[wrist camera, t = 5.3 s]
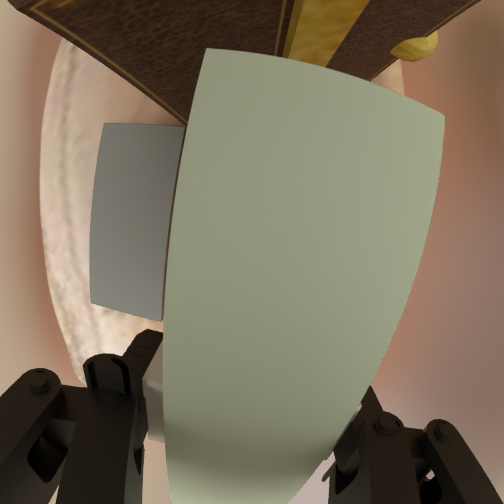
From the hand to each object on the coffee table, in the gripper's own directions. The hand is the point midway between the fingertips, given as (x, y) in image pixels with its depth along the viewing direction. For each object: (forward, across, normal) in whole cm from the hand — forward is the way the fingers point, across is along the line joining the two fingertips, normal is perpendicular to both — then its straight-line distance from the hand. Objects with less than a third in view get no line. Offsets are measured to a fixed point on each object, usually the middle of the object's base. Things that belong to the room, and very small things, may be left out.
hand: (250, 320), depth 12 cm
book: (+18, 0, +18) cm, 25 cm away
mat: (+17, -14, 0) cm, 22 cm away
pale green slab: (+8, 0, 0) cm, 8 cm away
